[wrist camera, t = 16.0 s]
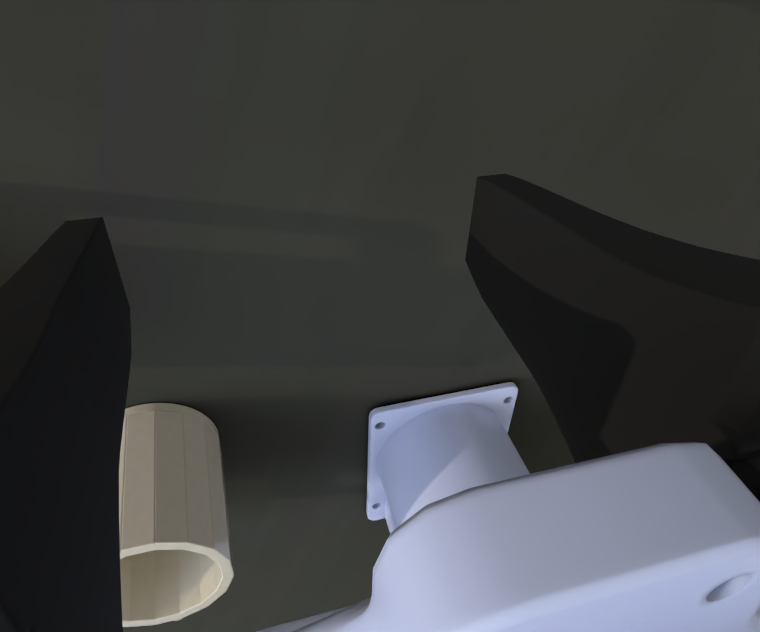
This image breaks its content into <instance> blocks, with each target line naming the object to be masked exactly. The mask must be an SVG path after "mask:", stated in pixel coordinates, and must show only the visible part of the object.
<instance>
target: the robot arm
mask: <svg viewBox="0 0 760 632" xmlns="http://www.w3.org/2000/svg"><path fill="white" fill-rule="evenodd" d="M466 263H467V265H468V267H469V270H470V272H471V275H472V277H473V279H474V282H475V284H476V286H477V288H478V290H479V292H480V294H481V296H482V298H483V300H484V301H485V303H486V305H487V306H488V308H489V309H490V311H491V312H492V314H493V316H494V317H495V319H496V320H497V322H498V323H499V325H500V326H501V328H502V329H503V331H504V333H505V334H506V336H507V337H508V339H509V340H510V342H511V343H512V345H513V346H514V348H515V349H516V351H517V352H518V354H519V355H520V357H521V358H522V360H523V361H524V363H525V364H526V366H527V367H528V369H529V370H530V372H531V374H532V375H533V377H534V379H535V380H536V382H537V384H538V386H539V387H540V389H541V391H542V393H543V395H544V397H545V399H546V401H547V403H548V405H549V407H550V409H551V411H552V413H553V415H554V417H555V419H556V421H557V423H558V425H559V427H560V429H561V432H562V434H563V436H564V438H565V440H566V442H567V445H568V447H569V449H570V451H571V453H572V456H573V458H574V460H575V462H576V463H575V464H570V465H566V466H562V467H558V468H553V469H549V470H545V471H540V472H536V473H532V474H530V473H529V471H528V469H527V468H526V466H525V464H524V462H523V461H522V459H521V457H520V455H519V453H518V452H517V450H516V448H515V446H514V444H513V443H512V441H511V439H510V437H509V436H508V430H509V426H510V422H511V418H512V414H513V410H514V406H515V402H516V398H517V394H518V388H517V386H516V385H515V383H513V382H507V383H501V384H496V385H491V386H486V387H481V388H476V389H470V390H465V391H460V392H455V393H450V394H445V395H439V396H434V397H429V398H424V399H419V400H414V401H408V402H403V403H398V404H393V405H388V406H383V407H378V408H375V409H373V410H372V411H371V412H370V414H369V428H368V469H367V510H366V513H367V516H368V519H370V520H379V519H383V518H386V521H387V525H388V528H389V531H390V536H389V538H388V539H387V541H386V543H385V545H384V547H383V549H382V551H381V553H380V555H379V557H378V559H377V561H376V564H375V566H374V568H373V580H372V597H370V598H367V599H365V600H363V601H360V602H358V603H356V604H354V605H351V606H347V607H343V608H339V609H336V610H332V611H328V612H324V613H321V614H317V615H313V616H309V617H306V618H302V619H298V620H295V621H291V622H287V623H283V624H280V625H276V626H272V627H268V628H265V629H261V630H257V631H253V632H760V260H757V259H752V258H747V257H742V256H737V255H733V254H728V253H724V252H719V251H715V250H710V249H706V248H702V247H698V246H695V245H691V244H687V243H684V242H680V241H677V240H674V239H671V238H667V237H664V236H661V235H657V234H654V233H651V232H648V231H645V230H642V229H640V228H637V227H634V226H631V225H629V224H626V223H624V222H621V221H618V220H616V219H613V218H611V217H608V216H606V215H603V214H601V213H598V212H596V211H594V210H591V209H589V208H587V207H584V206H582V205H580V204H578V203H575V202H573V201H571V200H568V199H566V198H564V197H562V196H560V195H557V194H555V193H553V192H551V191H548V190H546V189H544V188H542V187H539V186H537V185H535V184H532V183H530V182H527V181H525V180H522V179H520V178H517V177H514V176H511V175H507V174H499V175H489V176H480V177H477V182H476V189H475V196H474V203H473V210H472V217H471V224H470V231H469V238H468V245H467V252H466ZM130 361H131V323H130V306H129V303H128V300H127V297H126V293H125V290H124V287H123V283H122V280H121V277H120V273H119V270H118V267H117V263H116V260H115V257H114V253H113V250H112V247H111V243H110V240H109V237H108V233H107V230H106V227H105V223H104V220H103V217H100V218H91V219H82V220H72V221H66V222H64V223H63V224H62V225H61V226H60V227H59V228H58V229H57V230H56V231H55V232H54V233H53V234H52V236H51V237H50V238H49V239H48V240H47V241H46V242H45V243H44V244H43V245H42V246H41V247H40V248H39V249H38V251H37V252H36V253H35V254H34V255H33V256H32V257H31V258H30V259H29V260H28V261H27V262H26V263H25V264H24V265H23V266H22V267H21V268H20V269H19V270H18V271H17V272H16V273H15V274H14V275H13V277H12V278H11V279H10V280H9V281H7V282H6V283H5V284H4V285H3V286H2V287H1V288H0V632H123V625H122V601H121V576H120V536H119V463H120V449H121V440H122V432H123V423H124V415H125V406H126V397H127V389H128V380H129V371H130Z"/></svg>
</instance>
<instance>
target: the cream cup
mask: <svg viewBox="0 0 760 632" xmlns="http://www.w3.org/2000/svg"><path fill="white" fill-rule="evenodd" d="M119 536H120V576H121V601H122V625H123V627H133V626H147V625H157V624H160V623H164V622H168V621H172V620H173V621H178V620H181V619H182V618H184V617H186V616H188V615H190V614H192V613H195V612H197V611H199V610H201V609H203V608H205V607H207V606H208V605H210V604H211V603H213V602H214V601H215V600H216V599H218V598H219V597H220V596H221V595H222V594H224V593H225V592H226V591H227V589H228V587H229V585H230V583H231V580H232V578H233V576H234V569H233V559H232V549H231V539H230V530H229V520H228V510H227V500H226V490H225V480H224V470H223V460H222V450H221V445H220V438H219V433H218V430H217V428H216V426H215V425H214V423H213V422H212V421H211V420H210V419H209V418H208V417H207V416H206V415H204V414H202V413H201V412H199V411H197V410H195V409H193V408H190V407H187V406H183V405H179V404H172V403H148V404H141V405H136V406H132V407H129V408H126V409H125V415H124V423H123V432H122V440H121V449H120V463H119Z"/></svg>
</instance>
